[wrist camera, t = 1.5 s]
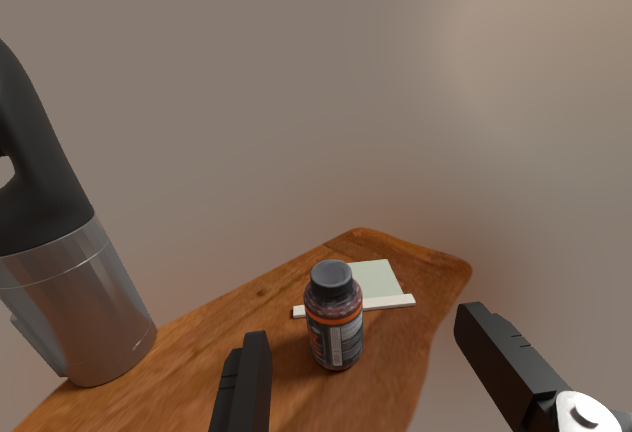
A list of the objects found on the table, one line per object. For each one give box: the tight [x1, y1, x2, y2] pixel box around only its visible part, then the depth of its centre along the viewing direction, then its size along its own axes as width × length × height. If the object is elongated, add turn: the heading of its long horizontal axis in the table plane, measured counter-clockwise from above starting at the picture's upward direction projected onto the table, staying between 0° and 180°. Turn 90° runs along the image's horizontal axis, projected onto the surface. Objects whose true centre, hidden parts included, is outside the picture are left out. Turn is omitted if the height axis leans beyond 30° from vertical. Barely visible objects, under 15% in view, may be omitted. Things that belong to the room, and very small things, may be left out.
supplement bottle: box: [304, 259, 363, 370], centre depth 28 cm, size 6×6×11 cm
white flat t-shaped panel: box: [293, 259, 416, 318], centre depth 39 cm, size 16×10×1 cm, turn 93°
